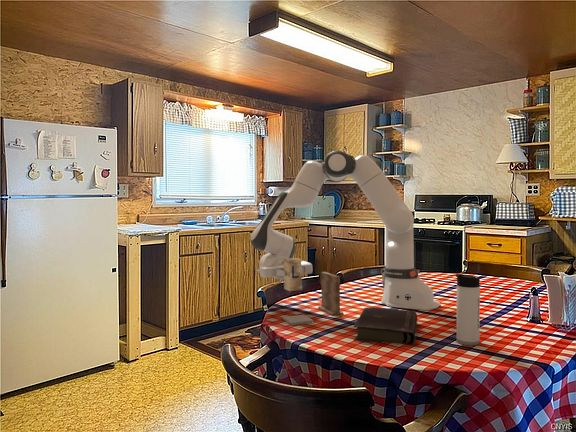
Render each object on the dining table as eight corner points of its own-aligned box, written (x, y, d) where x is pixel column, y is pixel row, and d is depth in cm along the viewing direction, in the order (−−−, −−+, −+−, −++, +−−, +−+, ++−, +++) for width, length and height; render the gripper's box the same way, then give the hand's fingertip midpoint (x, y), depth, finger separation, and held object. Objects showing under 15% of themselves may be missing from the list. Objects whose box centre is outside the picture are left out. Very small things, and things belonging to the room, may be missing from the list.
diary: (417, 324, 155) (417, 310, 155) (415, 348, 131) (415, 331, 131) (361, 320, 161) (362, 306, 160) (350, 342, 137) (350, 325, 136)
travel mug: (451, 339, 136) (451, 272, 136) (473, 338, 137) (473, 272, 136) (461, 346, 130) (461, 276, 129) (483, 345, 131) (484, 275, 130)
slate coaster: (303, 317, 164) (303, 314, 164) (313, 322, 156) (313, 320, 156) (282, 319, 161) (282, 317, 161) (291, 325, 153) (291, 322, 153)
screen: (318, 308, 176) (318, 272, 175) (328, 307, 177) (328, 271, 177) (332, 315, 165) (332, 277, 164) (343, 314, 166) (343, 276, 166)
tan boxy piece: (296, 287, 170) (295, 257, 170) (302, 289, 165) (301, 259, 165) (284, 288, 168) (283, 258, 168) (289, 291, 164) (288, 260, 163)
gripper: (254, 261, 175) (266, 266, 162) (303, 257, 182) (318, 262, 170) (254, 278, 175) (266, 284, 162) (304, 273, 183) (318, 279, 170)
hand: (293, 272), depth 166 cm, fingers closed on tan boxy piece, 5 cm apart
